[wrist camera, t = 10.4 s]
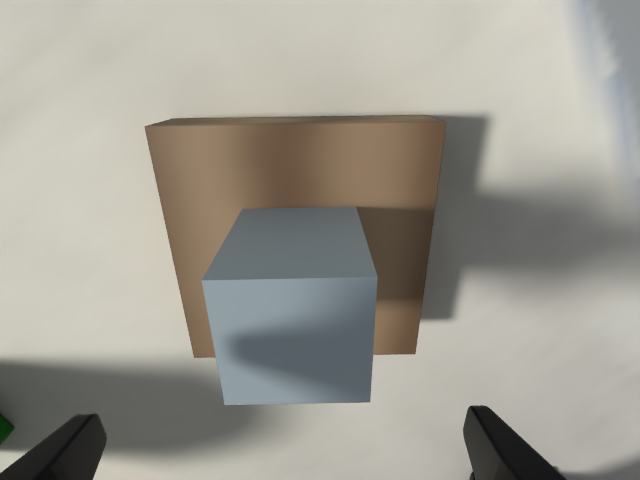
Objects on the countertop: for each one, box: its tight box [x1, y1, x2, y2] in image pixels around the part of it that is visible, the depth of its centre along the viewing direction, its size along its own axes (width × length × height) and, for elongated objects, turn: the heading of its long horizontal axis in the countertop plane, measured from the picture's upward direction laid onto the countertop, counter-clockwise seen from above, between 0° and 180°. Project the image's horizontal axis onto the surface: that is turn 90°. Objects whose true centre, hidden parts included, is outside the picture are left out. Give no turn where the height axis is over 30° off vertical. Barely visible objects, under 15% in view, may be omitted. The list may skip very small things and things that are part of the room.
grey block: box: [202, 207, 378, 405], centre depth 14 cm, size 5×5×6 cm
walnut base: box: [145, 115, 446, 358], centre depth 18 cm, size 12×12×3 cm
